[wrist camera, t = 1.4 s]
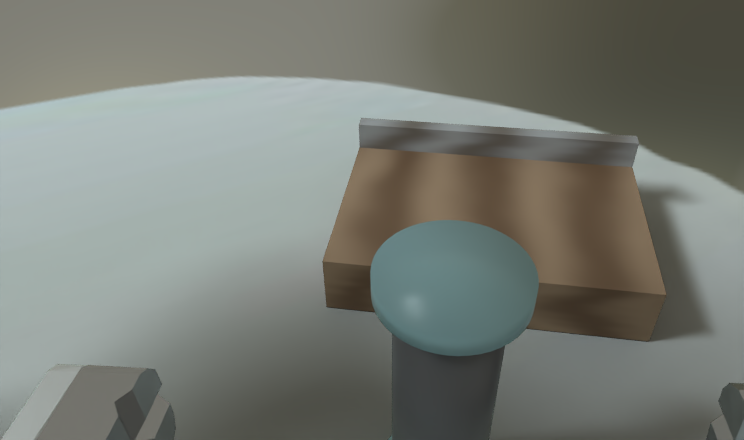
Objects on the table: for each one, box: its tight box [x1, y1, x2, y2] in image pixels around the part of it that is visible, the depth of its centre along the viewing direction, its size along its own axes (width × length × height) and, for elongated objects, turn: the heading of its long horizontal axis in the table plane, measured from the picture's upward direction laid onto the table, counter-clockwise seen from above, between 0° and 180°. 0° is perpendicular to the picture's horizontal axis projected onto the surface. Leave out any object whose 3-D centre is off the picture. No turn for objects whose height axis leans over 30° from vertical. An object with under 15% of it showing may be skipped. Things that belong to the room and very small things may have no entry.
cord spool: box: [370, 220, 539, 440], centre depth 28 cm, size 6×6×14 cm
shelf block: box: [323, 118, 667, 341], centre depth 44 cm, size 20×14×6 cm
